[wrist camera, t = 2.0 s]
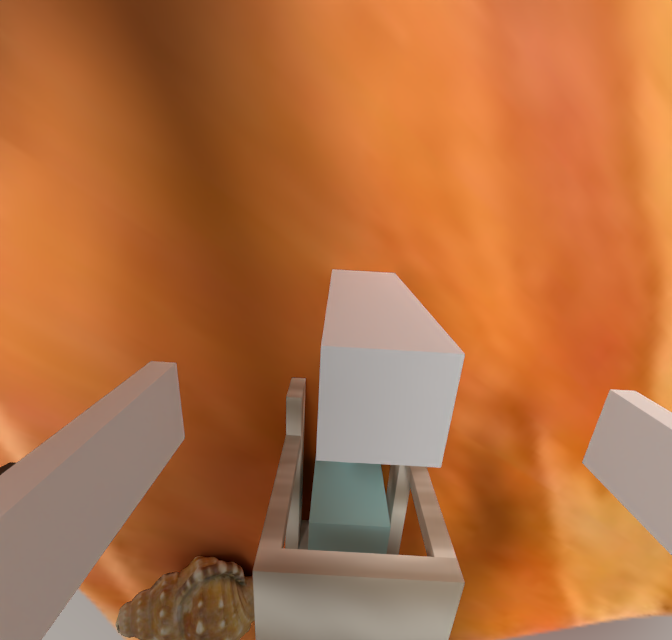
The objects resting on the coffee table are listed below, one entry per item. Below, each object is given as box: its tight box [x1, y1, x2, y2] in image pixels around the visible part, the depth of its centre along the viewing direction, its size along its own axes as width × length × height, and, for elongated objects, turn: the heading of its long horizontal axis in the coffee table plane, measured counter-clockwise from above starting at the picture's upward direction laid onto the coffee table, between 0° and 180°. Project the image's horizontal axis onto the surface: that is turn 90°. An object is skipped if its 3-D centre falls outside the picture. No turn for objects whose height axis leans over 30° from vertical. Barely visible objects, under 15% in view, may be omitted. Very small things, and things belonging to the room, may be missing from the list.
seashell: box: [116, 556, 255, 640], centre depth 27 cm, size 9×8×10 cm
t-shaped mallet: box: [308, 269, 465, 554], centre depth 18 cm, size 20×5×12 cm, turn 177°
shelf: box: [253, 377, 465, 640], centre depth 20 cm, size 15×9×11 cm, turn 177°
